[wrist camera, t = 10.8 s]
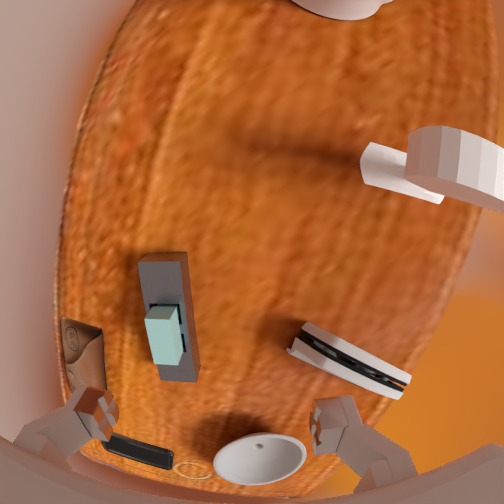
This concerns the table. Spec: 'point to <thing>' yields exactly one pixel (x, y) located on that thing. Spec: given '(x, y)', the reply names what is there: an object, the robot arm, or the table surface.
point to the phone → (139, 451)
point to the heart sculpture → (440, 167)
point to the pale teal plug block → (165, 334)
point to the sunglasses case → (83, 354)
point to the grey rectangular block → (172, 292)
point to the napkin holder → (359, 373)
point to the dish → (259, 458)
